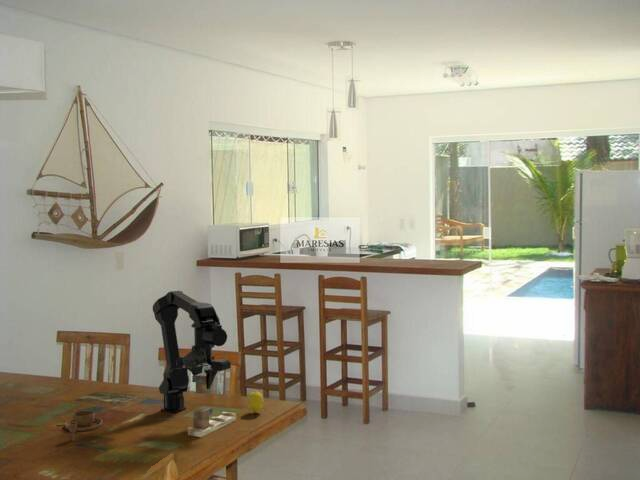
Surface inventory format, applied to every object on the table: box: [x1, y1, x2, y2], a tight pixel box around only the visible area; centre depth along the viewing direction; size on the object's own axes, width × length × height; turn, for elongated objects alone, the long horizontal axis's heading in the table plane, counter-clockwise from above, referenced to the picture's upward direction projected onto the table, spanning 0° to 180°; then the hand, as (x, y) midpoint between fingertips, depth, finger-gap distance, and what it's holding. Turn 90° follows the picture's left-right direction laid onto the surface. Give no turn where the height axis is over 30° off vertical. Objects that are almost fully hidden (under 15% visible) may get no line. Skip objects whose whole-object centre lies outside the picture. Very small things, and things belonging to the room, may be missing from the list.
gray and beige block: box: [191, 372, 212, 395], centre depth 255 cm, size 4×5×6 cm, turn 151°
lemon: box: [247, 390, 265, 414], centre depth 268 cm, size 6×6×8 cm
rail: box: [187, 406, 237, 438], centre depth 252 cm, size 5×20×8 cm, turn 154°
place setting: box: [57, 409, 103, 442], centre depth 249 cm, size 18×20×6 cm
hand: (203, 388), depth 256 cm, fingers closed on gray and beige block, 4 cm apart
